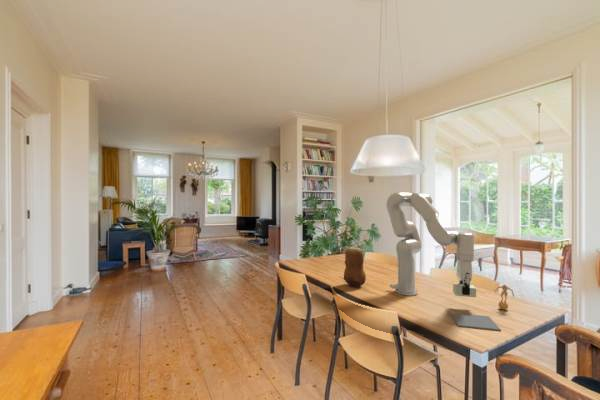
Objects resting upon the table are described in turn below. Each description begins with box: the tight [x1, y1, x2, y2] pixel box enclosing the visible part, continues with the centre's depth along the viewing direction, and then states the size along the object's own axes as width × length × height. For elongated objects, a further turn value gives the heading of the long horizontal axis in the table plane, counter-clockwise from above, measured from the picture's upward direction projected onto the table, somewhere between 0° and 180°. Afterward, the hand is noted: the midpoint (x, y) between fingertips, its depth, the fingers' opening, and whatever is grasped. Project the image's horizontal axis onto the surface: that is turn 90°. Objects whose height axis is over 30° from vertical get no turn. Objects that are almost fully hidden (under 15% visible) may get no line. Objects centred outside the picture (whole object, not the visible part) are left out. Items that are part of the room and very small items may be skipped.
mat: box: [450, 312, 502, 332], centre depth 126 cm, size 16×14×1 cm
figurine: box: [494, 284, 515, 310], centre depth 141 cm, size 8×6×12 cm
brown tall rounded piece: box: [343, 246, 367, 288], centre depth 181 cm, size 14×13×25 cm
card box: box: [452, 282, 477, 298], centre depth 143 cm, size 9×6×4 cm, turn 74°
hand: (464, 292), depth 143 cm, fingers closed on card box, 5 cm apart
